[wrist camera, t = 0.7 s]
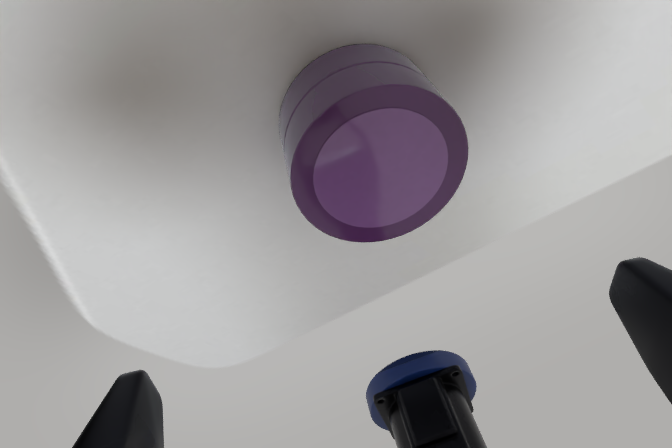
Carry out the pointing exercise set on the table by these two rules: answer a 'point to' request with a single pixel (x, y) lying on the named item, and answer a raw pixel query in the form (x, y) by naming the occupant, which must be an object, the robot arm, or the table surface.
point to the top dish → (374, 153)
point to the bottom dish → (330, 66)
